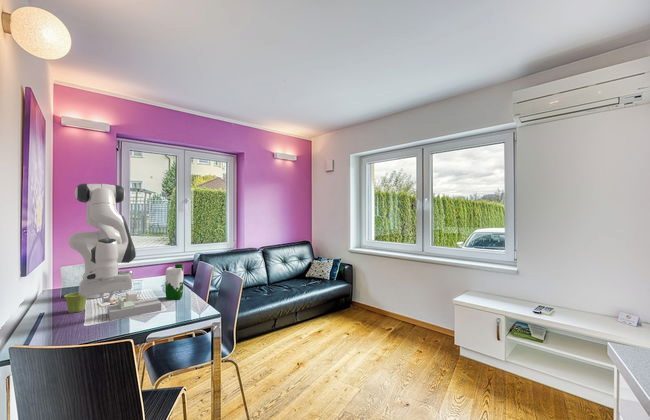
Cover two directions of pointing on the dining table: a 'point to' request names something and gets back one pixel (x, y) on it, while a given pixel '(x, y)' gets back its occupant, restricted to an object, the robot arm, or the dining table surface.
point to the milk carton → (174, 282)
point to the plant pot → (75, 302)
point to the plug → (131, 296)
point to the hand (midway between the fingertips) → (106, 302)
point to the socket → (134, 309)
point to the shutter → (125, 303)
